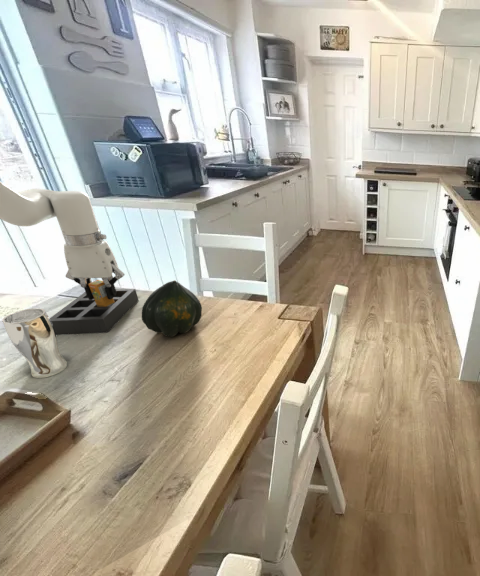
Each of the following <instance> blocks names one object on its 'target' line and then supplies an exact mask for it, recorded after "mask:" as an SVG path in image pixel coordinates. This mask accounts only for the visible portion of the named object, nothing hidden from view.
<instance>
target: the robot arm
mask: <svg viewBox="0 0 480 576" xmlns="http://www.w3.org/2000/svg"><path fill="white" fill-rule="evenodd" d="M55 217H56V219H57V222H58V225H59V228H60V231H61V234H62V236H63V240H64V242H65V243H64V244H63V251H64V258H65V263H66V266H67V268H68V270H67V272H66V274H65V278H67V279H69V280H71V281H73V282H75V283H76V284H78V285H79V286H80V287H81V288H83V289H84V292H86V295H87V296H88V298H89V300H92V299H94V297H93V295H92V292H91V290H90V288H89V285H88V284H89V283H92V279H101V281H103V282H104V283H105V285H106V287H105V291H106V294H107V298H108V299H112V298H113V297H115V296H116V289H117V288H116V286H115V284H116V283H117V281H119V280H120V279H122V278H124V276H125V275H126V274H125V273H124V272H123V271H122V270H121V269H120V268H119V265H118V262H117V259H116V257H115V255H114V252H113V251H112V249H111V246H110V244H109V243H108V242H107V241H106V240H107V235H106V234H102V232H101V230H100V228H99V225H98V221H97V218H96V214H95V212H94V208H93V205H92V201H91V199H90V196H89V195H88V194H87V193H86V192H84V191H79V190H62V191H58V190H51V189H46V188H30V189H26V190H23V191H18V192H17V191H14V190H13V189H12V188H10V187H9V186H8V185H6V184H5V183H3V182H2V181H0V220H2V221H4V222H6V223H8V224H11V225H14V226H16V227H33V226H36V225H38V224H41V223H42V222H45V221H46V220H50V219H53V218H55ZM113 274H114V275H115V276H113Z"/></svg>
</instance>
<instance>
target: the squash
mask: <svg viewBox="0 0 480 576" xmlns="http://www.w3.org/2000/svg"><path fill="white" fill-rule="evenodd" d="M202 311H203V308H202V303H201V301H200V300H199V298H198V297H197V296H196V294H194V292H192V291H191V290H190V289H188V288H186V287H185V286H184V285H182V283H180V282H178V281H177V280H170V281H168V282H165V283H164V284H163V285H161V286H160V287H157V288H156V289H155V290H154V291H153V292H152V293H150V294H149V295H148V297H147V299H146V300H145V302H144V303H143V305H142V308H141V321H142V323H143V324H144V325H145V326H146V328H147V329H148V330H151V331H152V332H153V333H159V334H160V333H162V334H163V335H164V336H166V337H168V338H169V337H170V338H173V337H175V336H177V335H178V333H180V334H185V333H188V332H189V331H190V330H191V329H192V327H194V326H196V325H197V324H199V322H200V320H201V318H202Z"/></svg>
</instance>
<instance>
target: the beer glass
mask: <svg viewBox="0 0 480 576" xmlns="http://www.w3.org/2000/svg"><path fill="white" fill-rule="evenodd" d="M50 318H51V317H49V315H48V313H47V311H46V309H44V308H40V307H34V308H25V309H22V310H18V311H14V312H12V313H10V314H8V315H5V316H4V317H3V318H2V324H3V326H4V329H5V331H6V335H7V336H8V338H9V340H10V342H11V343H12V345H13V346H14V348H16V350H17V351H18V352H19V353H20V354H21V355H22V356H23V357H24V359H26V361H27V363H28V365H29V368H30V373H31V376H32V378H35V379H44V378H49V377H53V376H56V375H58V374H60V373H61V372H63V371H64V370H65V369H66V368H67V367H68V362H67V361H66V359H65V357H63V355H62V354H61V352H60V348H59V343H58V337H57V336H58V335H56V332H55V329H54V326H53V324H52V322H51V320H50Z"/></svg>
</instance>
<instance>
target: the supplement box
mask: <svg viewBox="0 0 480 576" xmlns="http://www.w3.org/2000/svg"><path fill="white" fill-rule="evenodd" d="M88 285H89V288H90V290H91V292H92V295H93V297H94V300H95V302H96V304H97V307H105V306H112V305H113V304H114V303H115V302H114V300H113V298H112V299H108V298H107V294H106V291H105V287H106V285H105V283H104V282H103V280H102V279H101V280H100V279H96V280H93V281H91V283H89V284H88Z"/></svg>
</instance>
